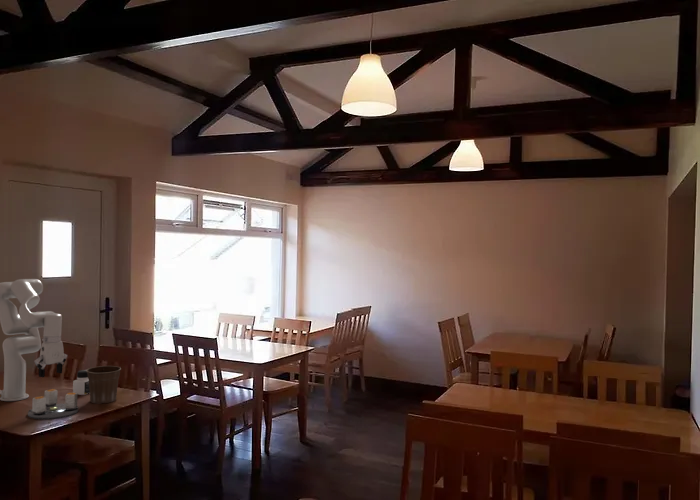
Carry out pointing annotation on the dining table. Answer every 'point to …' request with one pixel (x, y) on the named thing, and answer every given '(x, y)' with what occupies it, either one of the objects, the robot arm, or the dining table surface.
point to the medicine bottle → (81, 383)
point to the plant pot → (103, 383)
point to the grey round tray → (53, 412)
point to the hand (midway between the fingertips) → (50, 374)
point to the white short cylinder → (71, 401)
